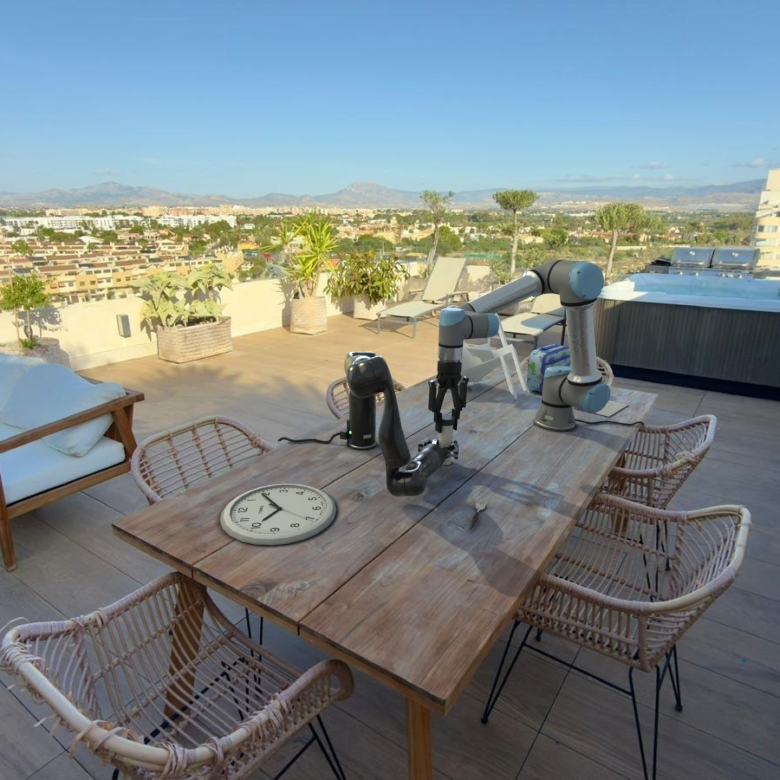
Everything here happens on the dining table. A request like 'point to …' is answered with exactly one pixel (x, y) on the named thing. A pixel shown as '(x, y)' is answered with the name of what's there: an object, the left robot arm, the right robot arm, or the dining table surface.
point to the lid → (448, 420)
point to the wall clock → (278, 514)
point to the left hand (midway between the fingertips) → (448, 440)
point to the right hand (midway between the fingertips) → (446, 430)
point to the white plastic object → (491, 362)
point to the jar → (446, 439)
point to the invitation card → (611, 408)
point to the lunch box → (545, 364)
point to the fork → (478, 507)
